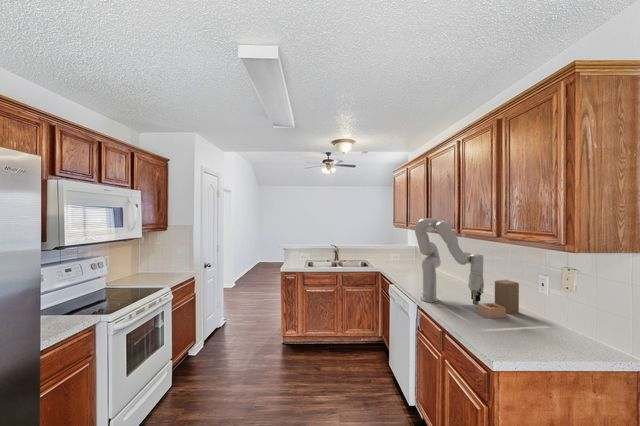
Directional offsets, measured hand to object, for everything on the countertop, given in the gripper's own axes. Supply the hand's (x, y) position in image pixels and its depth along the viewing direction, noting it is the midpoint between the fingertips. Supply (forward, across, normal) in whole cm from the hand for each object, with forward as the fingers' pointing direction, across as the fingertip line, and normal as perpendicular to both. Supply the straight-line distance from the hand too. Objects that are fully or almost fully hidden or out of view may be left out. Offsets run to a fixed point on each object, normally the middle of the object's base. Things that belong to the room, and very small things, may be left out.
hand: (475, 299), depth 204 cm
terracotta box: (+5, +15, 0) cm, 15 cm away
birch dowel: (+3, 0, 0) cm, 3 cm away
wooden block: (+6, +9, +15) cm, 19 cm away
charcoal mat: (+6, +8, +1) cm, 10 cm away
